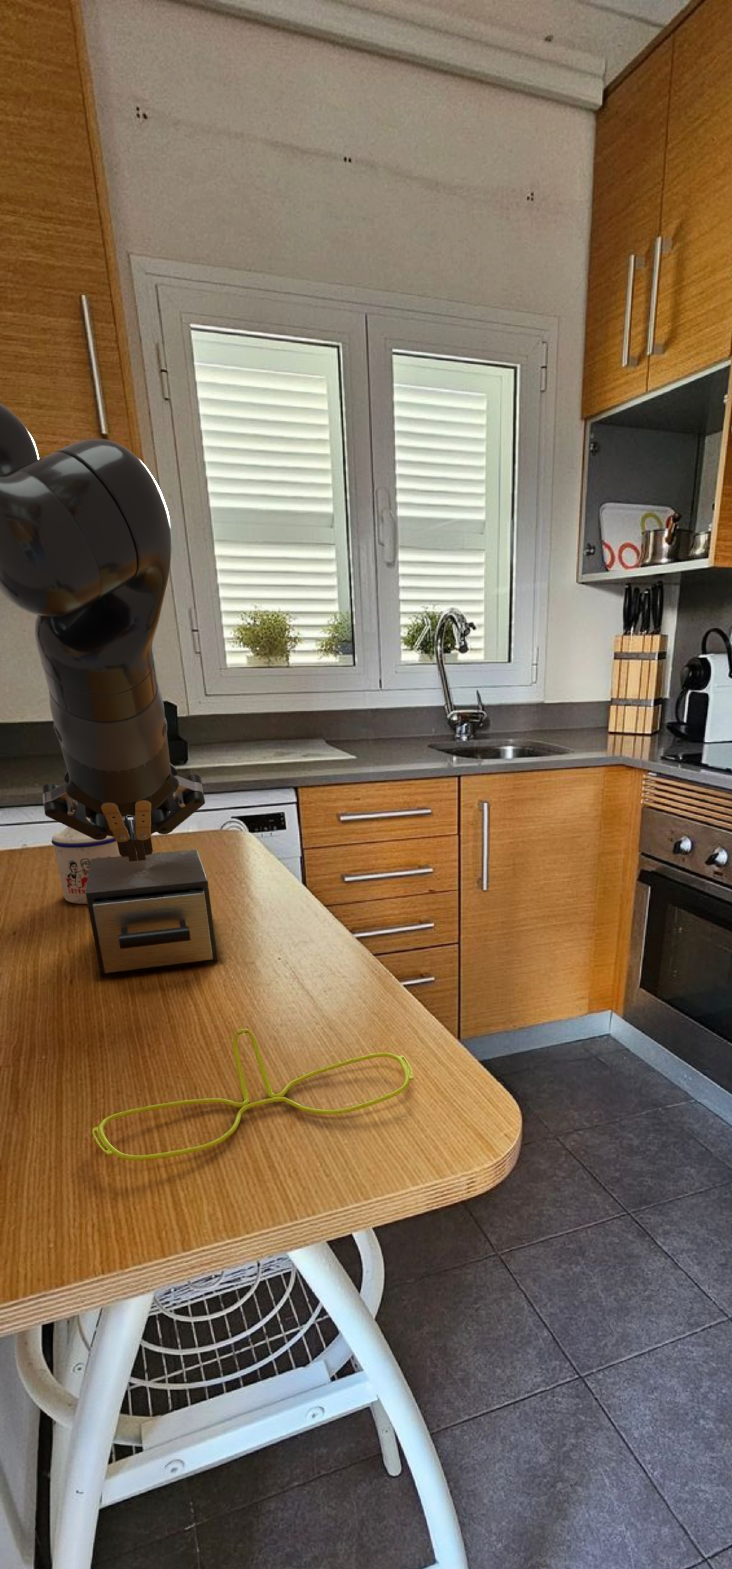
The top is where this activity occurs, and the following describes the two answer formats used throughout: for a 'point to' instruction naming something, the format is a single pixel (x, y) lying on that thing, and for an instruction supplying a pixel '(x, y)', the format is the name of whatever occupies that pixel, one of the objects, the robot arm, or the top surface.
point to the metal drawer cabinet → (146, 886)
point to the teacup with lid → (79, 860)
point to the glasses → (244, 1105)
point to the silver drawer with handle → (152, 930)
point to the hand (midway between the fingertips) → (136, 852)
